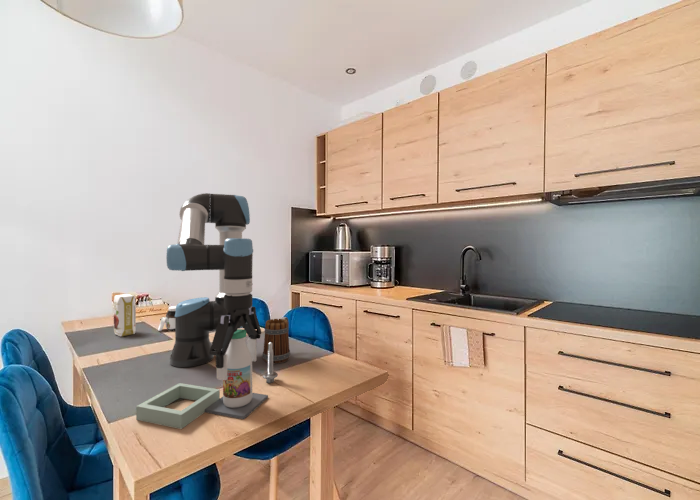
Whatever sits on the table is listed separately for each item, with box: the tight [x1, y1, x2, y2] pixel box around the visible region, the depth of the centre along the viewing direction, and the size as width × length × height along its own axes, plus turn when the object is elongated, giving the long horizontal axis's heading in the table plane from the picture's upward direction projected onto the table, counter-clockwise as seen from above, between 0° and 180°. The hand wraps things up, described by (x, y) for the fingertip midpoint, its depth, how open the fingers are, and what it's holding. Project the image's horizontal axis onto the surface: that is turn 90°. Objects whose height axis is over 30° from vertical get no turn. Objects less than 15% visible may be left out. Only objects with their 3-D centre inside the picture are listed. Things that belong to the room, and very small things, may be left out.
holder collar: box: [135, 382, 221, 430], centre depth 86 cm, size 14×14×4 cm
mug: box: [262, 316, 291, 365], centre depth 126 cm, size 16×11×15 cm
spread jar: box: [157, 305, 177, 332], centre depth 163 cm, size 12×11×12 cm
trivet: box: [204, 392, 269, 420], centre depth 89 cm, size 12×12×1 cm
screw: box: [262, 342, 279, 384], centre depth 104 cm, size 13×5×5 cm
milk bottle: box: [222, 328, 253, 408], centre depth 89 cm, size 8×8×20 cm
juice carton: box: [113, 293, 137, 337], centre depth 154 cm, size 8×9×19 cm
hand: (237, 369), depth 89 cm, fingers open, 13 cm apart
